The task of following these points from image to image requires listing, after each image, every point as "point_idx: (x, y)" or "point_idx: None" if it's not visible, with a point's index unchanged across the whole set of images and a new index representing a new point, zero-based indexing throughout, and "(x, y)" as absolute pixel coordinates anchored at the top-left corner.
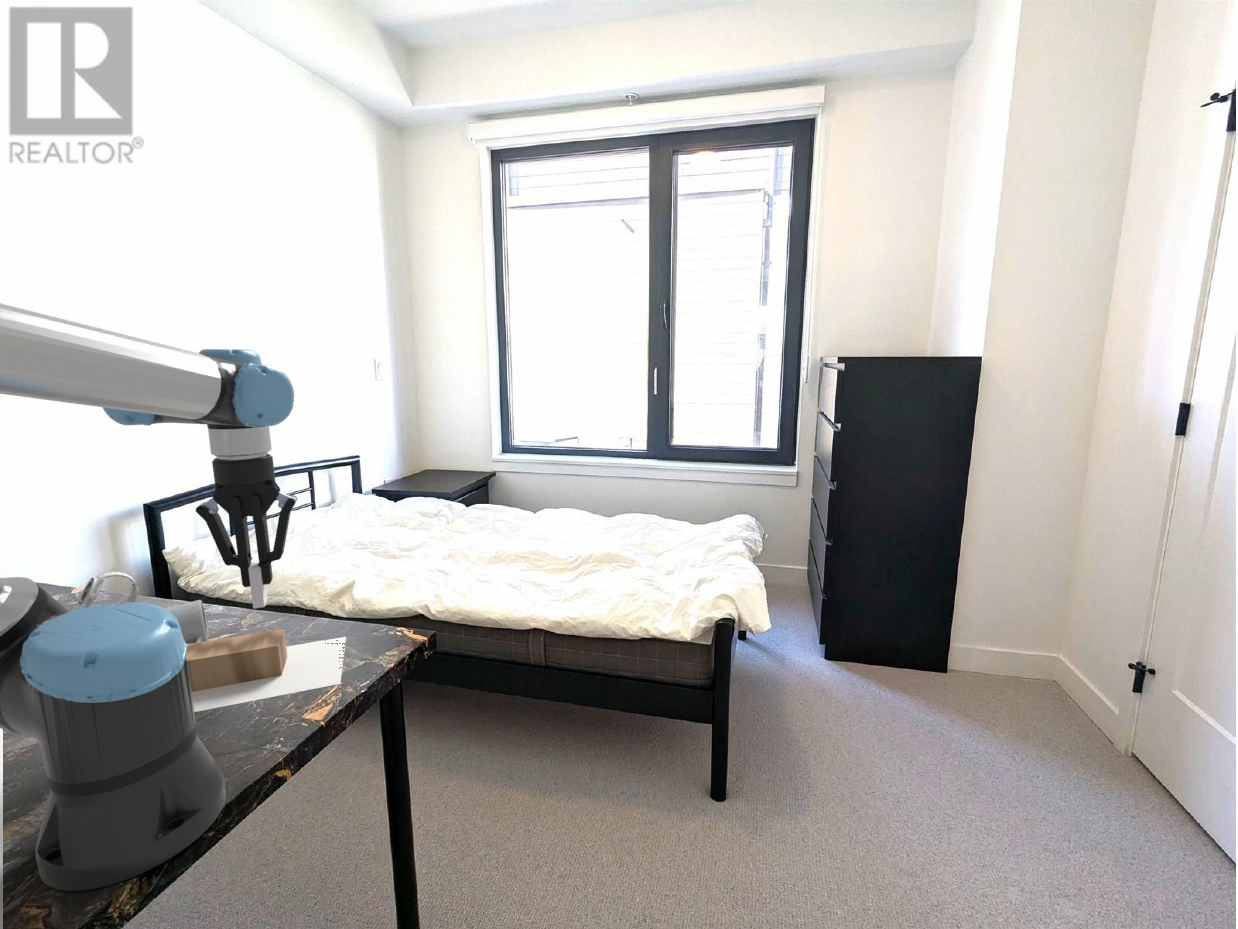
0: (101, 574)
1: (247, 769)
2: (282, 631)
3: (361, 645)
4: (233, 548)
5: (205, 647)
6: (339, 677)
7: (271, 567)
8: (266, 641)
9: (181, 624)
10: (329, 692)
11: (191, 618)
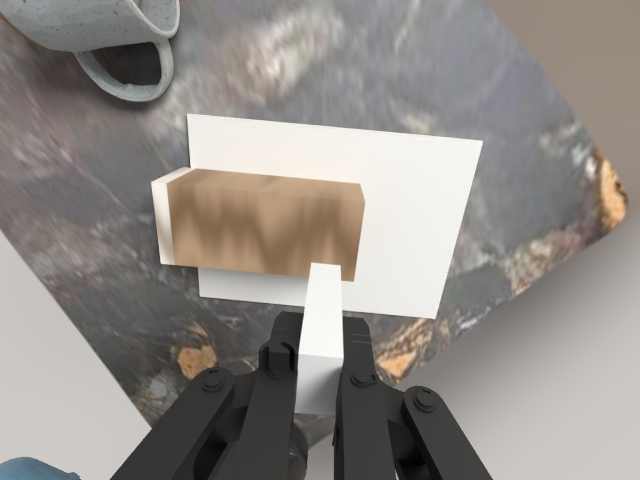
0: None
1: (321, 419)
2: (361, 215)
3: (500, 189)
4: (206, 432)
5: (210, 220)
6: (437, 301)
7: (372, 356)
8: (330, 250)
9: (96, 31)
10: (416, 324)
11: (111, 18)
